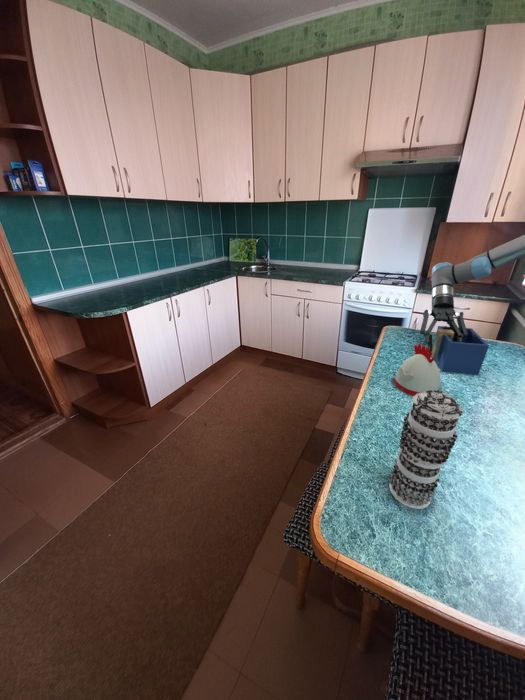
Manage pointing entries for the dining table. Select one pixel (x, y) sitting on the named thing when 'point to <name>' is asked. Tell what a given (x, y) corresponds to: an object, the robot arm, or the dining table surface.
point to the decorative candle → (424, 447)
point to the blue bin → (461, 353)
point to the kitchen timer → (418, 373)
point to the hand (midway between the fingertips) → (443, 352)
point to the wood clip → (438, 339)
